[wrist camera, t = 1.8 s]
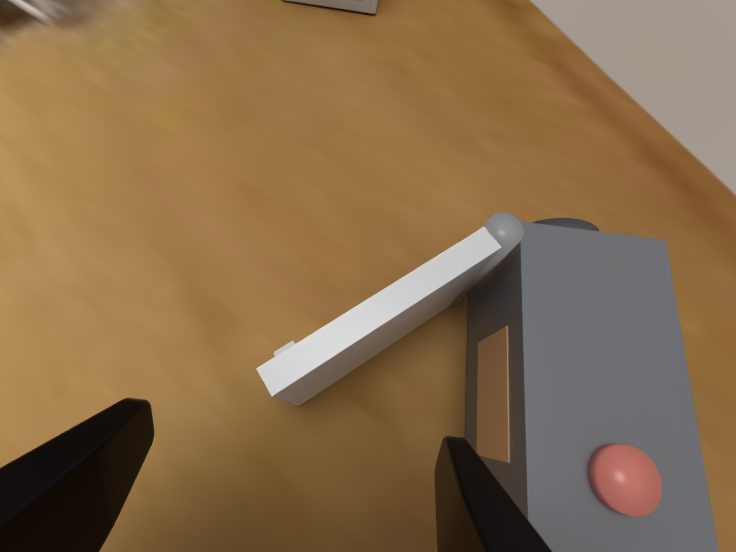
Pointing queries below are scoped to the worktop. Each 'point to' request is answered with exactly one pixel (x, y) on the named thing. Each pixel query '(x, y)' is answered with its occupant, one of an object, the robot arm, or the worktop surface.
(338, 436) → the worktop surface
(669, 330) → the box
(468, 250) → the side door
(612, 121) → the worktop surface
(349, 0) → the supplement box
